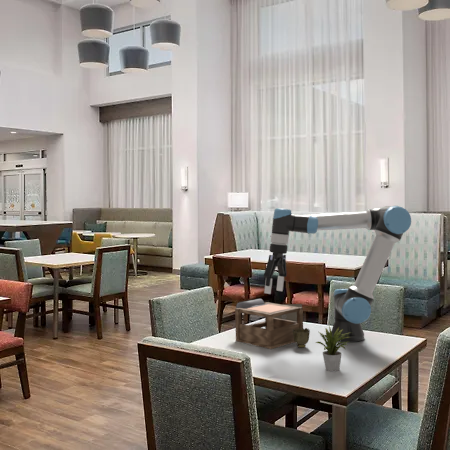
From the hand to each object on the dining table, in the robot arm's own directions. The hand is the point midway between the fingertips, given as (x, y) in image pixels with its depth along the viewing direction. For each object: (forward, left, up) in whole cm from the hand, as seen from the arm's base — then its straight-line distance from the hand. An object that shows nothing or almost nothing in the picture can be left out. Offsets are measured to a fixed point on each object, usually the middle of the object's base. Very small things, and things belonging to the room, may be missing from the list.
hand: (273, 292), depth 244 cm
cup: (-8, -8, -25) cm, 27 cm away
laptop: (+25, -33, -25) cm, 48 cm away
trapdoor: (+14, -8, -12) cm, 20 cm away
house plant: (-38, +10, -25) cm, 47 cm away
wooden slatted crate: (+11, -8, -24) cm, 28 cm away
